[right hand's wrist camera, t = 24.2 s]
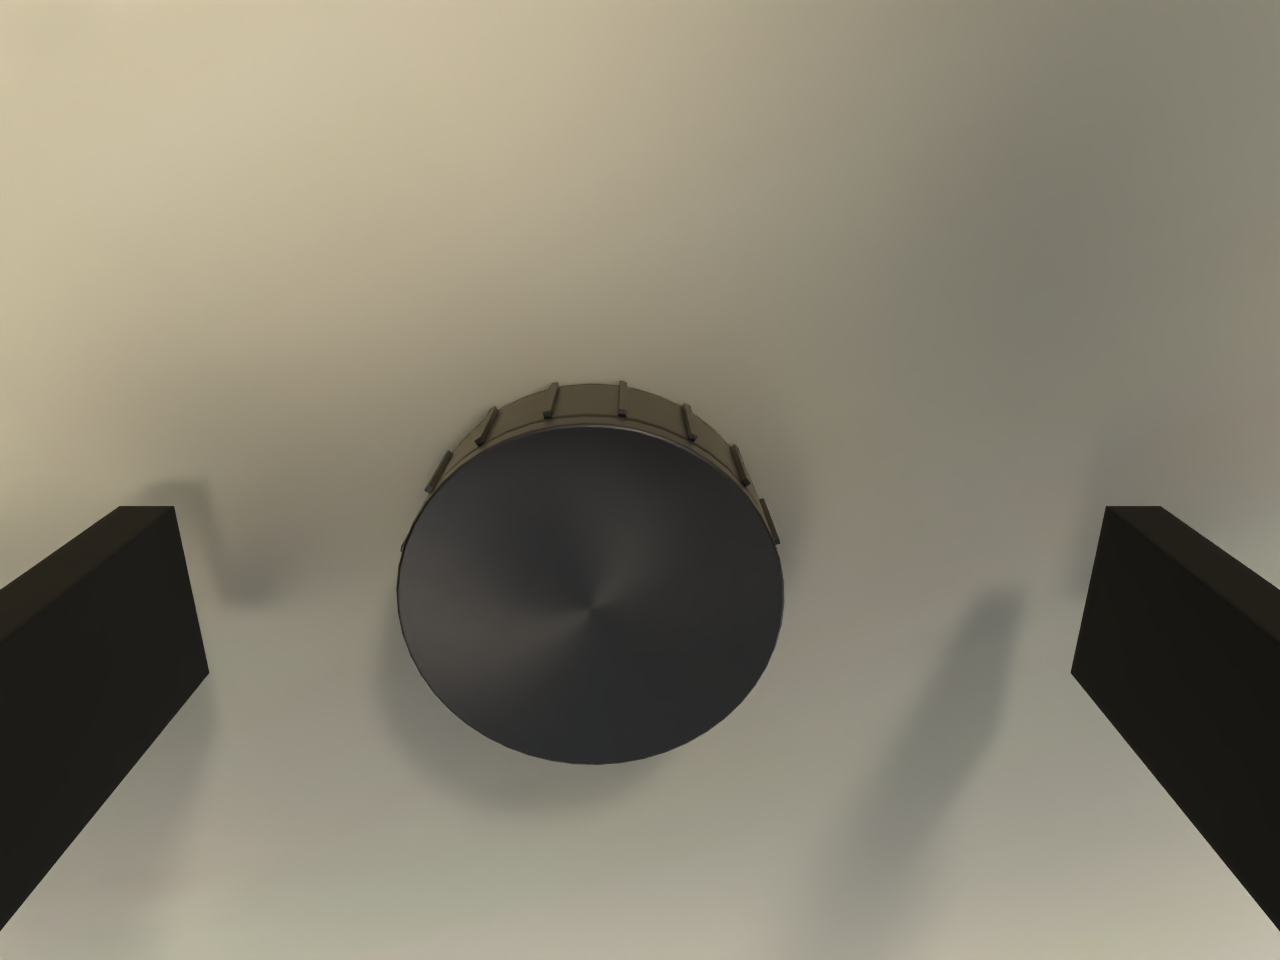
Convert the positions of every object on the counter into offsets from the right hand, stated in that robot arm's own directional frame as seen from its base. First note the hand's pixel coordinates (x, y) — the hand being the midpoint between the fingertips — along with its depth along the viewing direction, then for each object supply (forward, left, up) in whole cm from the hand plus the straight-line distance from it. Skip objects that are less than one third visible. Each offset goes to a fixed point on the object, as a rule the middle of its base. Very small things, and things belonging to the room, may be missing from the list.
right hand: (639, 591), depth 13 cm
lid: (0, -1, 0) cm, 1 cm away
